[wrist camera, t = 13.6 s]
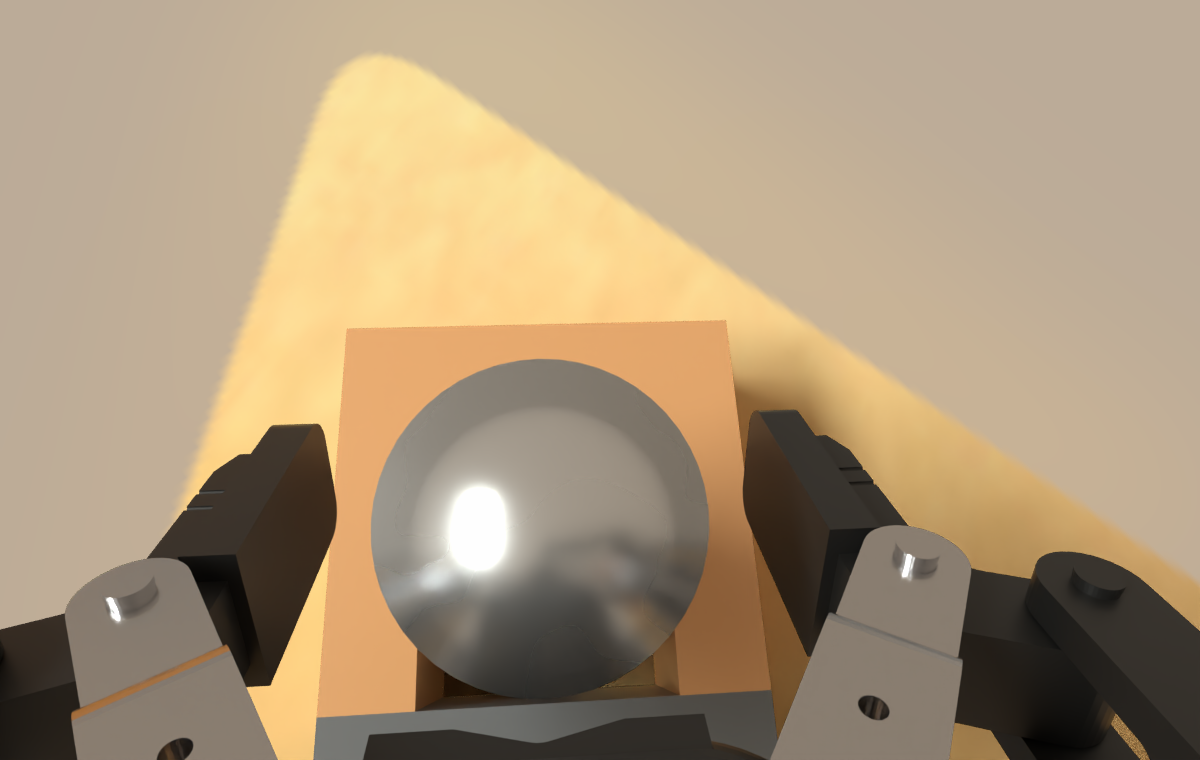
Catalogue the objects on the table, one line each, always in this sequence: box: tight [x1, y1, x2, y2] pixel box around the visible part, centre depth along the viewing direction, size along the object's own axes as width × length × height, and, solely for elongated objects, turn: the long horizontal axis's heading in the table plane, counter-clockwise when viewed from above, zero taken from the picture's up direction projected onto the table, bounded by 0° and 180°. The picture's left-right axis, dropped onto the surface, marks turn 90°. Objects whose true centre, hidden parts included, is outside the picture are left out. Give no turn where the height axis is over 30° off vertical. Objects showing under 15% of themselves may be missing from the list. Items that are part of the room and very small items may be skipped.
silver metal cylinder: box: [371, 359, 709, 699], centre depth 14 cm, size 4×4×12 cm
